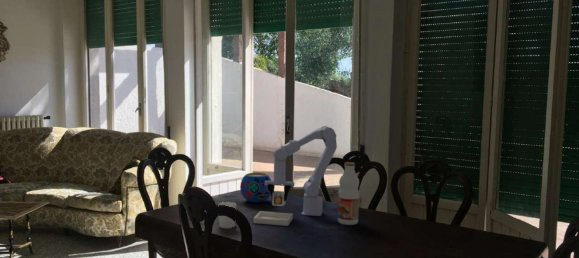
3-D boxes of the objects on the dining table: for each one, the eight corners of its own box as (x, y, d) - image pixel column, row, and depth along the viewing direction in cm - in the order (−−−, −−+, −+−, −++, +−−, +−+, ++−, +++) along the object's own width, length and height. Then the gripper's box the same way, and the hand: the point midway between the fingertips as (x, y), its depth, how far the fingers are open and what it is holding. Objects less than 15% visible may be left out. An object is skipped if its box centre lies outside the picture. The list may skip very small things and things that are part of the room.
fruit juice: (360, 225, 213) (363, 164, 210) (341, 225, 211) (343, 164, 209) (354, 219, 222) (356, 161, 220) (335, 219, 220) (337, 161, 218)
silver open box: (285, 203, 230) (286, 191, 230) (283, 206, 225) (284, 193, 224) (274, 202, 231) (275, 190, 231) (272, 205, 226) (272, 193, 225)
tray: (292, 218, 220) (292, 213, 220) (288, 225, 209) (288, 220, 208) (259, 216, 223) (259, 211, 223) (253, 223, 211) (253, 217, 211)
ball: (281, 197, 228) (280, 197, 225) (282, 204, 227) (280, 203, 224) (275, 198, 228) (274, 197, 225) (276, 204, 227) (274, 204, 225)
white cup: (237, 224, 209) (238, 202, 209) (234, 229, 202) (234, 206, 201) (220, 223, 210) (221, 201, 209) (216, 228, 202) (216, 205, 201)
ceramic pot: (248, 207, 241) (248, 178, 240) (235, 199, 256) (235, 172, 255) (278, 203, 249) (278, 176, 248) (263, 196, 265) (264, 170, 264)
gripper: (263, 173, 224) (262, 201, 225) (293, 174, 221) (292, 203, 222) (266, 171, 231) (266, 197, 232) (295, 172, 228) (294, 199, 229)
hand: (279, 200), depth 228 cm, fingers closed on silver open box, 6 cm apart
